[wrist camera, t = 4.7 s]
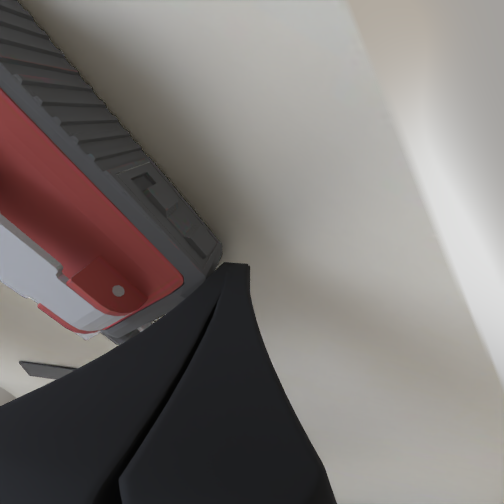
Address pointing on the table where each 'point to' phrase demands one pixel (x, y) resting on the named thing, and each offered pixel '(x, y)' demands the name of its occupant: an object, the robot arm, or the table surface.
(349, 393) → the table surface
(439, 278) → the table surface
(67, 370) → the tape marks
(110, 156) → the walkie-talkie
